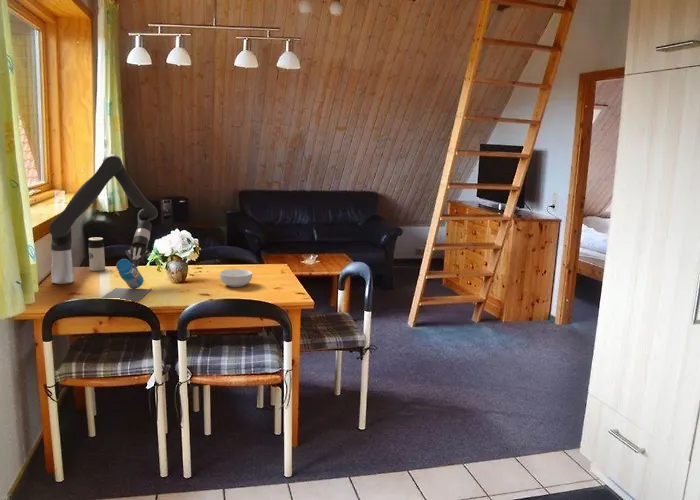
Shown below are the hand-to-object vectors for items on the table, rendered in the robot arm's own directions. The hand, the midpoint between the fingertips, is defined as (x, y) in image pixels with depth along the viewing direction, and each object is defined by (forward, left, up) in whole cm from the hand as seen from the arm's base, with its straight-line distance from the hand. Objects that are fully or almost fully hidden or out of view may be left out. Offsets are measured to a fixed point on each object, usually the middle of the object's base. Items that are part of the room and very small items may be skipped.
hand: (134, 267), depth 293 cm
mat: (0, -13, -11) cm, 17 cm away
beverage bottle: (0, +2, -8) cm, 8 cm away
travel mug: (-34, +38, -11) cm, 53 cm away
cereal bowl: (+49, +12, -11) cm, 52 cm away
